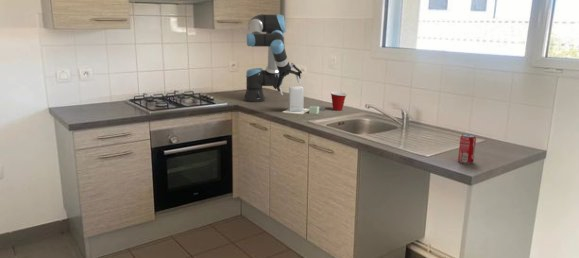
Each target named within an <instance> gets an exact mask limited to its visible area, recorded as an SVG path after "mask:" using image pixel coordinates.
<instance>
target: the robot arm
mask: <svg viewBox="0 0 579 258" xmlns="http://www.w3.org/2000/svg"><path fill="white" fill-rule="evenodd" d="M247 26H248V30H249V33H246V46H247V47H252V48H253V47H255V48H256V47H257V48H258V47H264V48H265V47H267V66H266V67H265V69H263V68H262V67H255V68H250V69H247V70H246V75H245V77H246V83H245V84H246V87H245V88H246V90H245V94H244V97H243V101H244V102H249V103H262V102H264V101H265V100H266V99H265V98H266V96H265V94H264V91H263V87H272V88H274V89H275V90H277V91H278V92H279V94H280V95H281V96H284V93H283V90H282V88H281V86H282V85H283V80H284V78H285V77H286V76H288V75H289V74H293V75H295V78H296V80H297V83H298V84H300V85H301V84H302V82H301V78H302V77H301V76H302V75H301V74H302V73H303V71H302V70H301V69H299V68H298V67H297V66H296V65H295V63H293V62H291V64H290V62H289V58H288V56H287V52H286V48H285V47H286V46H285V45H286V44H285V37H284V33H286V23H285V17H284V14H283V15H282V14H278V13H277V14H262V13H261V14H257V15H255V16H253V17H252V18H250V20H249V21H248V24H247ZM292 69H294V70H292Z"/></svg>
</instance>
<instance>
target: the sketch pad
mask: <svg viewBox="0 0 579 258" xmlns="http://www.w3.org/2000/svg"><path fill="white" fill-rule="evenodd" d="M308 111H309V108H304V107H303V111H290V110H289V108H287V109H285V110H284V111H283V110H282V113H283V114H295V115H304V113H307V112H308Z"/></svg>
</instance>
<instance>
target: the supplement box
mask: <svg viewBox="0 0 579 258" xmlns="http://www.w3.org/2000/svg"><path fill="white" fill-rule="evenodd" d="M288 90H289V92H288V94H289V95H288V109H289V110H290V111H303V108H304V100H305V98H304V97H305V89H304V87H303V86H291V85H290V86H289V87H288Z"/></svg>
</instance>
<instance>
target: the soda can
mask: <svg viewBox="0 0 579 258" xmlns="http://www.w3.org/2000/svg"><path fill="white" fill-rule="evenodd" d="M476 142H477V138H476V135H475V134H471V133H462V134H461V136H460V138H459V148H458V156H457V160H458V161H459V163H461V164H467V165H468V164H472V163H473V162H474V160H475V152H476Z"/></svg>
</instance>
